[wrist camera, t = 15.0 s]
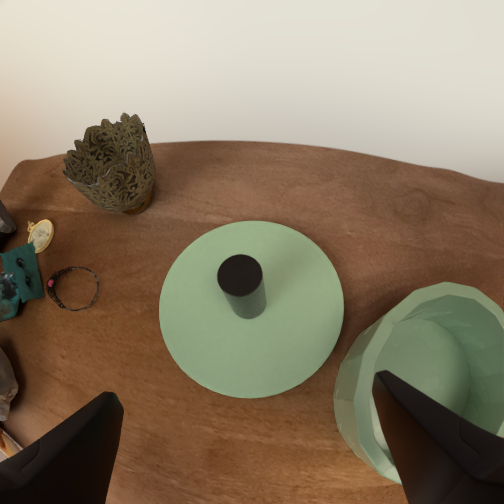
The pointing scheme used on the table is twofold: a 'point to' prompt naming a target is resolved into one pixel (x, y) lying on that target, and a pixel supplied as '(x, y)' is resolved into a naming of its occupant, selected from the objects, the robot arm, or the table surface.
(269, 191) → the table surface
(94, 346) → the table surface
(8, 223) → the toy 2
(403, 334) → the pot
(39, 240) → the pocket watch
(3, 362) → the stone
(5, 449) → the toy
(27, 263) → the figurine
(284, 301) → the lid
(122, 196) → the cup
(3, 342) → the table surface
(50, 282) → the necklace
